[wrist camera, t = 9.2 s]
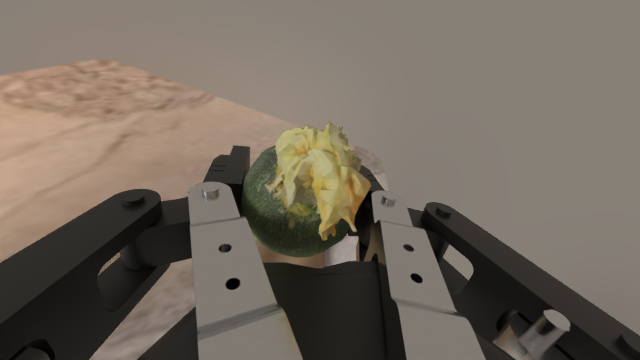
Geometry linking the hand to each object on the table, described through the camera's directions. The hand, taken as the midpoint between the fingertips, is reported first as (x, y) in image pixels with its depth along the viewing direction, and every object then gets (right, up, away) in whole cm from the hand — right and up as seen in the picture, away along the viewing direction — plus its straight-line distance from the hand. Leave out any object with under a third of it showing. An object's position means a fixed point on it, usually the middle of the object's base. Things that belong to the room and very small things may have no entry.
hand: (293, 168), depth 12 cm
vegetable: (-3, -5, +10) cm, 11 cm away
